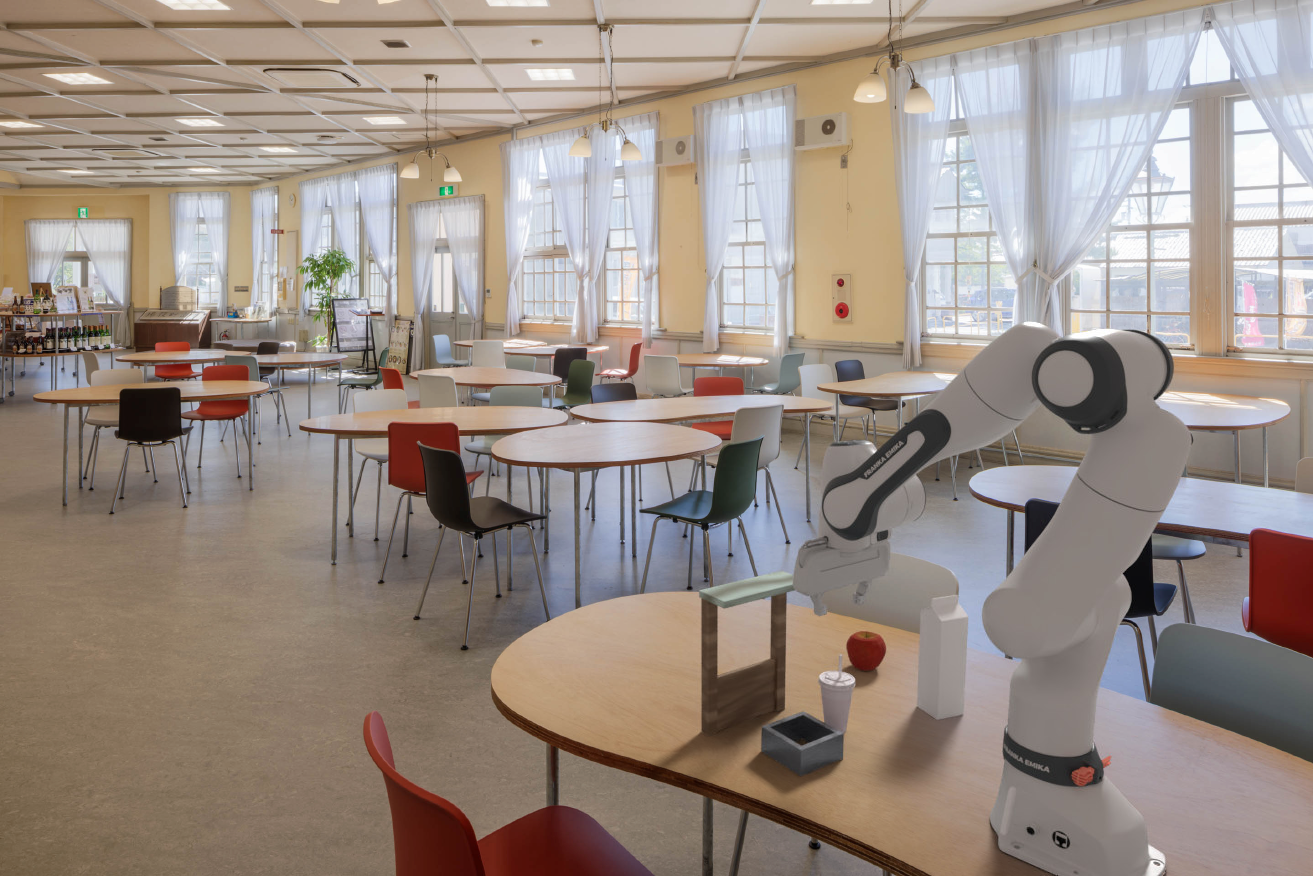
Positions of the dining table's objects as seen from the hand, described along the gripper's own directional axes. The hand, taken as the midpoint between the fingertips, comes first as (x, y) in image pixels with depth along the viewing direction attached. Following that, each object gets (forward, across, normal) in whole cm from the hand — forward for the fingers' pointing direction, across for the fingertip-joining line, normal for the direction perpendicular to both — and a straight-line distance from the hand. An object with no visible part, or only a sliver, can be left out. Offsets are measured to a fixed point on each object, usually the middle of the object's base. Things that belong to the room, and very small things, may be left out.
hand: (839, 608), depth 151 cm
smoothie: (+22, 0, -1) cm, 23 cm away
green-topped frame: (+23, -11, +8) cm, 27 cm away
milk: (+22, +21, -7) cm, 31 cm away
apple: (+23, +24, +14) cm, 36 cm away
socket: (+22, -11, -4) cm, 25 cm away
